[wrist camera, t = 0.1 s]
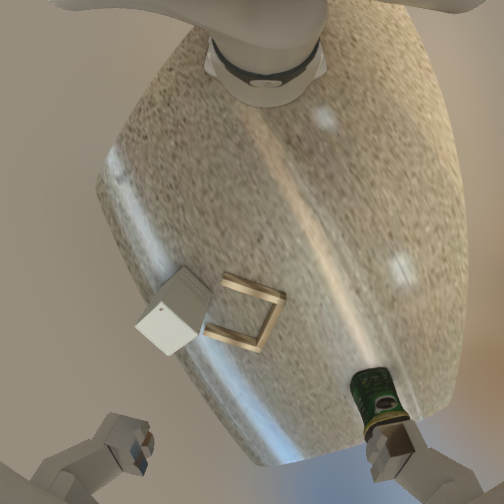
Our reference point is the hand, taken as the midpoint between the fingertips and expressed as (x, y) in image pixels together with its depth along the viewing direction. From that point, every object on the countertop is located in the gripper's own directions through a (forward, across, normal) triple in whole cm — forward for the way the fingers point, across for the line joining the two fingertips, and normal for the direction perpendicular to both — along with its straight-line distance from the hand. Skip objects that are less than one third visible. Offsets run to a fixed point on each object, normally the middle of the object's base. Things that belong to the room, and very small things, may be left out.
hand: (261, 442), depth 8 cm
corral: (+40, +4, +15) cm, 43 cm away
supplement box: (+40, +14, +11) cm, 44 cm away
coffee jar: (+43, -25, +34) cm, 60 cm away
